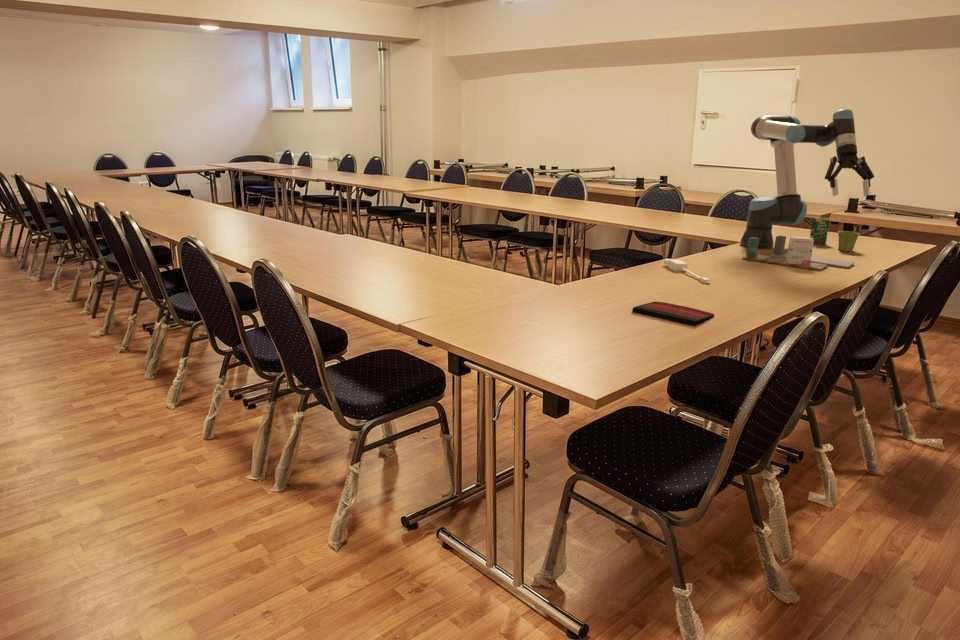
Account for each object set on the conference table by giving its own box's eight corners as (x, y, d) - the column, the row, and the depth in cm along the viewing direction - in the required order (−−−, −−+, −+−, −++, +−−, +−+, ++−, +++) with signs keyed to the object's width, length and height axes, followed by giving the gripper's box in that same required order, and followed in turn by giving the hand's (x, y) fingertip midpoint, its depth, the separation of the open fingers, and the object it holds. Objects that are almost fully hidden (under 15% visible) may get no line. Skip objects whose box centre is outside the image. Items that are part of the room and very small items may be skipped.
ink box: (806, 264, 284) (811, 237, 281) (810, 266, 280) (815, 239, 276) (785, 263, 286) (789, 236, 282) (788, 265, 281) (793, 238, 277)
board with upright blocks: (742, 258, 292) (745, 239, 289) (750, 255, 300) (753, 236, 297) (820, 270, 272) (824, 249, 270) (827, 266, 280) (831, 246, 278)
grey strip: (769, 256, 298) (772, 237, 295) (777, 253, 306) (780, 234, 303) (847, 268, 278) (851, 247, 276) (854, 264, 286) (857, 244, 284)
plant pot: (838, 247, 325) (842, 230, 322) (859, 250, 318) (862, 233, 315) (831, 250, 318) (834, 232, 316) (852, 253, 312) (855, 235, 309)
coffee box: (811, 244, 332) (816, 218, 328) (808, 243, 335) (812, 217, 331) (826, 244, 333) (830, 218, 329) (822, 243, 336) (826, 217, 332)
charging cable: (702, 287, 246) (703, 278, 245) (662, 265, 276) (663, 257, 275) (714, 287, 247) (715, 278, 246) (674, 264, 277) (675, 257, 276)
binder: (696, 320, 195) (632, 306, 208) (695, 328, 195) (631, 314, 208) (717, 312, 207) (655, 299, 220) (716, 319, 207) (654, 306, 220)
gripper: (823, 142, 273) (828, 192, 270) (880, 143, 275) (886, 192, 272) (812, 149, 280) (817, 198, 277) (868, 150, 282) (873, 198, 279)
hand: (851, 195), depth 275 cm, fingers open, 13 cm apart
